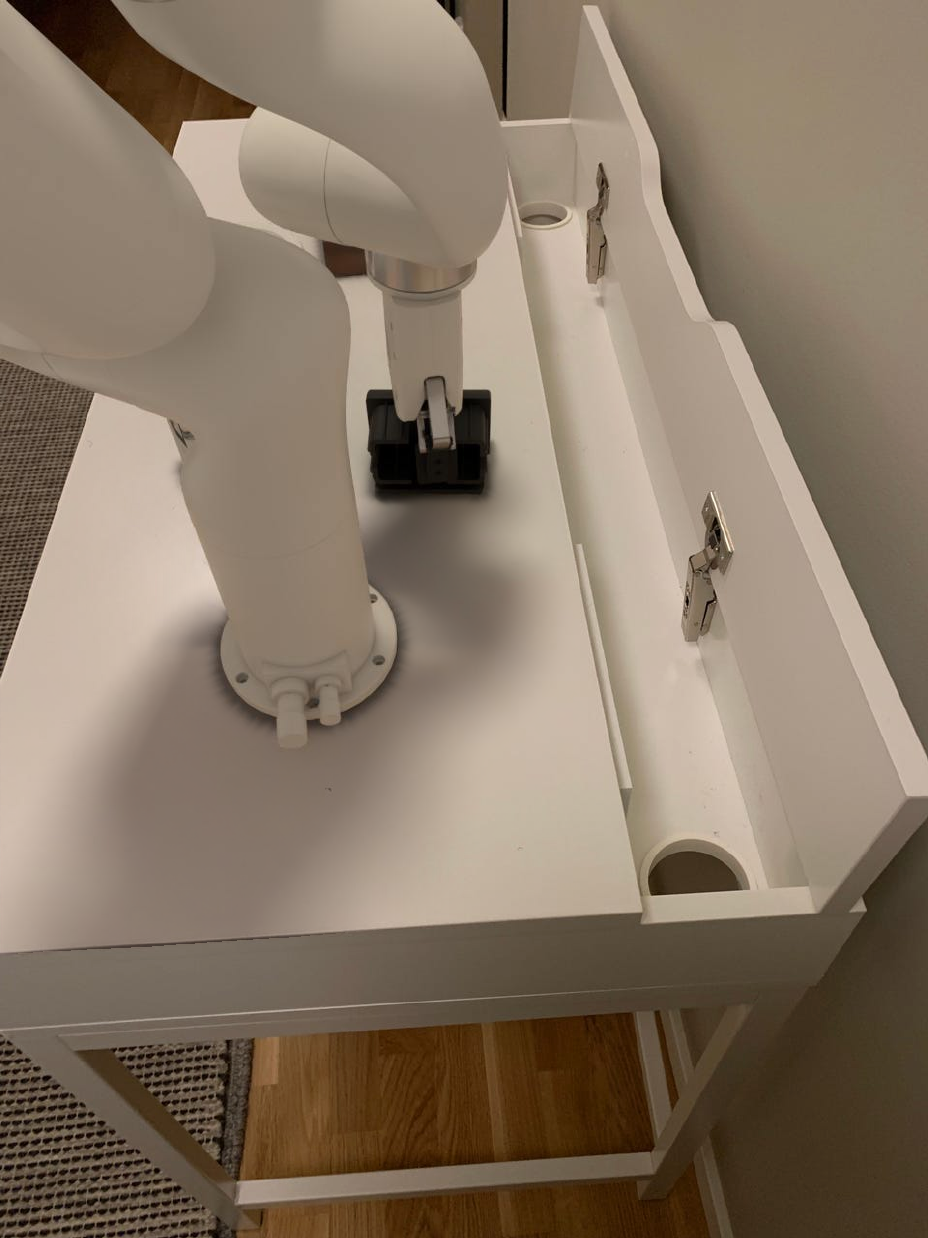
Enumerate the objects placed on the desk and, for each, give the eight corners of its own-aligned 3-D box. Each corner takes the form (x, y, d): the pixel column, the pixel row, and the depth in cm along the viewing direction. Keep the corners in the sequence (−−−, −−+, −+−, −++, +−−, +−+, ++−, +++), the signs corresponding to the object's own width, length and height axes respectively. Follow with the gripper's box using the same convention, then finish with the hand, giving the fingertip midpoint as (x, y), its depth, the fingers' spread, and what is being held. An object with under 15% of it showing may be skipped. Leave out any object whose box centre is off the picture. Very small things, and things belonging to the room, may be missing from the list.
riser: (441, 266, 92) (441, 230, 89) (327, 277, 91) (322, 241, 88) (427, 206, 99) (426, 170, 96) (320, 215, 98) (315, 179, 95)
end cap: (489, 436, 77) (490, 373, 71) (490, 495, 73) (492, 433, 67) (375, 435, 77) (368, 373, 71) (369, 494, 73) (361, 433, 67)
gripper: (354, 184, 63) (375, 380, 78) (377, 334, 53) (397, 527, 68) (457, 176, 64) (459, 371, 78) (499, 322, 54) (493, 515, 68)
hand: (430, 442), depth 73 cm, fingers closed on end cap, 7 cm apart
